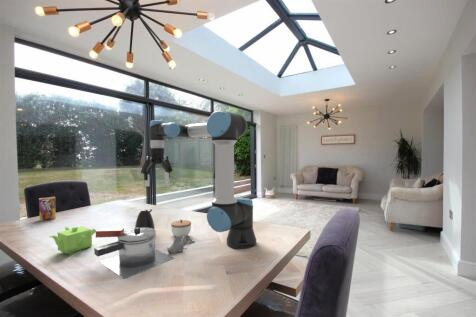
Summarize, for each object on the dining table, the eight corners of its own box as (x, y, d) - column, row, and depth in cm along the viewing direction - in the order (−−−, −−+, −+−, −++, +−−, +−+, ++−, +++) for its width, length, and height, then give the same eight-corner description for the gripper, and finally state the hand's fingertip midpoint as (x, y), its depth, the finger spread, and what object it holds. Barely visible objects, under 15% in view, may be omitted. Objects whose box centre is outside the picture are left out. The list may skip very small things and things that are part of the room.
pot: (144, 249, 112) (144, 228, 112) (162, 258, 103) (162, 235, 103) (89, 268, 94) (88, 243, 94) (104, 281, 85) (104, 253, 85)
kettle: (48, 259, 105) (48, 233, 105) (63, 247, 119) (62, 224, 119) (87, 255, 109) (87, 230, 109) (97, 244, 123) (96, 222, 123)
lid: (159, 229, 110) (159, 222, 110) (150, 241, 95) (150, 233, 95) (105, 231, 107) (105, 224, 107) (88, 243, 93) (88, 235, 93)
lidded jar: (186, 240, 127) (186, 223, 126) (167, 239, 129) (167, 222, 128) (194, 234, 137) (194, 217, 137) (176, 232, 139) (176, 216, 139)
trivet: (175, 260, 103) (175, 258, 103) (124, 281, 86) (123, 278, 86) (147, 247, 117) (147, 245, 117) (99, 263, 100) (99, 261, 100)
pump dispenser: (159, 235, 135) (158, 208, 135) (144, 241, 126) (144, 212, 125) (145, 232, 139) (145, 206, 139) (130, 238, 130) (130, 210, 129)
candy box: (55, 217, 174) (55, 196, 173) (55, 218, 170) (55, 197, 170) (39, 219, 168) (39, 198, 168) (39, 221, 165) (38, 198, 164)
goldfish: (174, 237, 128) (186, 225, 127) (187, 250, 128) (199, 239, 127) (159, 254, 108) (173, 240, 107) (174, 270, 108) (189, 256, 107)
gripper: (169, 148, 151) (170, 182, 151) (133, 147, 130) (134, 186, 130) (178, 148, 147) (178, 182, 147) (142, 147, 126) (142, 187, 126)
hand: (157, 184), depth 139 cm, fingers open, 13 cm apart
